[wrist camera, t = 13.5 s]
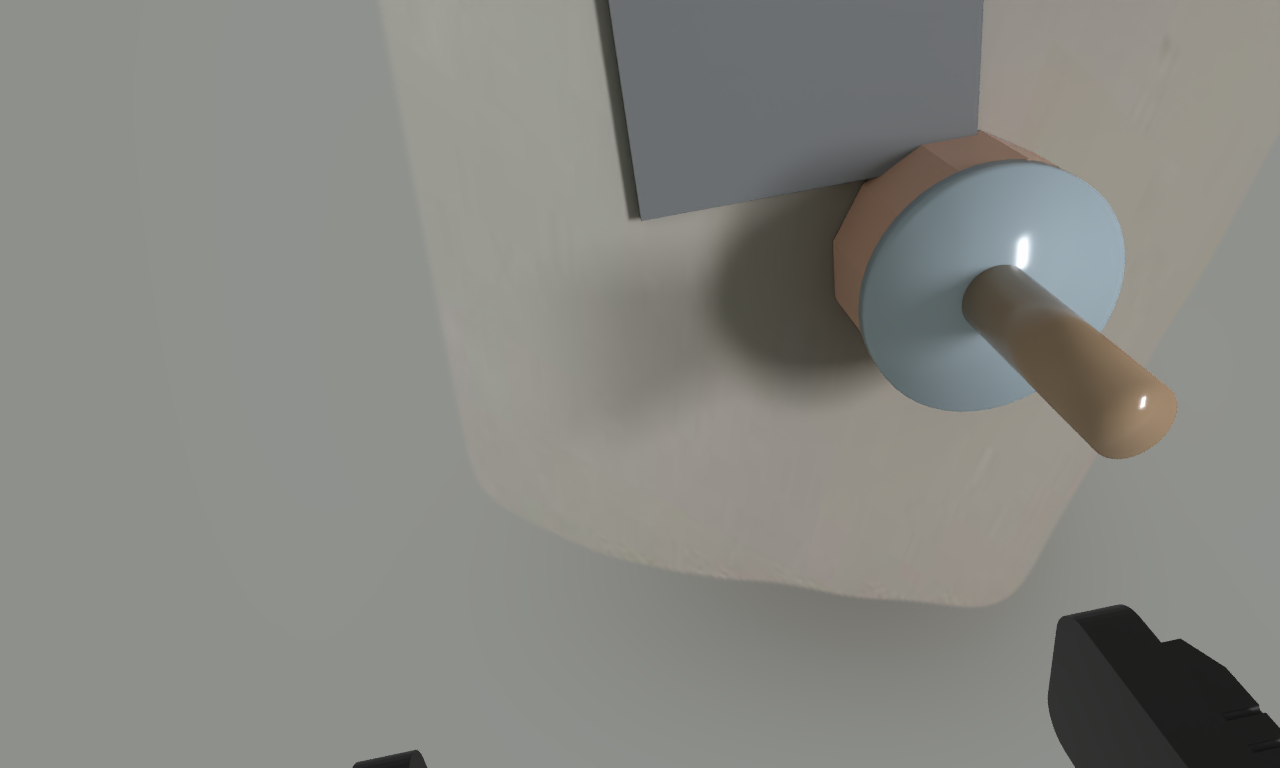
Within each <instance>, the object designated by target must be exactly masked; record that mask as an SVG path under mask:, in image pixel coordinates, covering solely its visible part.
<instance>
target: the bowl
mask: <svg viewBox="0 0 1280 768" xmlns="http://www.w3.org/2000/svg"><path fill="white" fill-rule="evenodd" d="M1006 159H1027V160H1034V161H1040V162H1044V163H1047V164H1051V165H1054V164H1052V163H1051V162H1049V161H1047V160H1045V159H1044V158H1042V157H1040V156H1038V155H1037V154H1035V153H1033V152H1031V151H1028V150H1026V149H1023V148H1021V147H1019V146H1016V145H1014V144H1012V143H1009V142H1007V141H1004V140H1002V139H1000V138H997V137H995V136H992V135H990V134H988V133H985V132H983V131H977V135H973V136H967V137H962V138H957V139H951V140H946V141H940V142H935V143H930V144H924V145H921V146H919V147H918V148H917V149H915V150H914V151H913V152H911V153H910V154H909V155H907V156H906V157H905V158H904V159H902V160H901V161H900V162H898V163H897V164H896V165H894V166H893V167H892V168H890V169H889V170H888V171H886V172H885V173H884V174H883V175H881V176H880V177H875V178H870V179H869V180H867V181H866V182H865V183H863V184H862V186H861V188H860V190H859V192H858V194H857V196H856V198H855V200H854V202H853V204H852V206H851V208H850V210H849V212H848V214H847V216H846V218H845V219H844V221H843V223H842V225H841V227H840V229H839V231H838V233H837V235H836V237H835V239H834V241H833V255H834V283H835V299H836V300H837V301H838V303H839V304H840V305H841V307H842V308H843V309H844V311H845V312H846V313H847V315H848V316H849V317H850V319H851V320H852V321H853V323H854V324H855V325H856V327H857V328H858V329H859V331H860V332H861V330H860V325H859V315H858V307H859V294H860V288H861V283H862V279H863V276H864V273H865V270H866V266H867V264H868V262H869V259H870V257H871V255H872V253H873V251H874V249H875V247H876V245H877V244H878V242H879V240H880V239H881V237H882V235H883V234H884V232H885V231H886V230H887V228H888V227H889V226H890V225H891V223H892V222H893V221H894V219H895V218H896V217H897V216H898V215H899V214H900V213H901V212H902V211H903V210H904V209H905V208H906V207H907V206H908V205H909V204H910V203H911V202H912V201H913V200H915V199H916V198H917V197H918V196H919V195H920V194H922V193H923V192H924V191H926V190H927V189H929V188H930V187H932V186H933V185H935V184H936V183H938V182H939V181H941V180H943V179H945V178H947V177H949V176H951V175H952V174H954V173H957V172H959V171H962V170H964V169H967V168H969V167H972V166H975V165H979V164H983V163H987V162H991V161H998V160H1006ZM1054 166H1056V165H1054ZM1057 167H1058V166H1057Z"/></svg>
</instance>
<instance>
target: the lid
mask: <svg viewBox="0 0 1280 768" xmlns="http://www.w3.org/2000/svg"><path fill="white" fill-rule="evenodd" d="M1124 266H1125V249H1124V240H1123V236H1122V231H1121V227H1120V225H1119V222H1118V220H1117V218H1116V215H1115V213H1114V212H1113V210H1112V208H1111V207H1110V205H1109V204H1108V202H1107V201H1106V200H1105V199H1104V198H1103V197H1102V196H1101V194H1100V193H1099V192H1098V191H1097V190H1095V189H1094V188H1093V187H1091V186H1090V185H1089V184H1087V183H1086V182H1085V181H1083V180H1081V179H1079V178H1078V177H1076V176H1074V175H1072V174H1071V173H1069V172H1067V171H1065V170H1063V169H1061V168H1059V167H1057V166H1054V165H1051V164H1047V163H1044V162H1040V161H1034V160H1027V159H1006V160H998V161H991V162H987V163H983V164H979V165H975V166H972V167H969V168H967V169H964V170H962V171H959V172H957V173H954V174H952V175H951V176H949V177H947V178H945V179H943V180H941V181H939V182H938V183H936V184H935V185H933V186H932V187H930V188H929V189H927V190H926V191H924V192H923V193H922V194H920V195H919V196H918V197H917V198H916V199H915V200H913V201H912V202H911V203H910V204H909V205H908V206H907V207H906V208H905V209H904V210H903V211H902V212H901V213H900V214H899V215H898V216H897V217H896V218H895V219H894V221H893V222H892V223H891V225H890V226H889V227H888V228H887V230H886V231H885V232H884V234H883V235H882V237H881V239H880V240H879V242H878V244H877V245H876V247H875V249H874V251H873V253H872V255H871V257H870V259H869V262H868V264H867V266H866V270H865V273H864V276H863V279H862V283H861V288H860V294H859V307H858V315H859V325H860V330H861V334H862V338H863V342H864V344H865V346H866V348H867V351H868V353H869V355H870V356H871V358H872V359H873V361H874V363H875V364H876V366H877V367H878V368H879V370H880V371H881V372H882V374H883V375H884V376H885V378H886V379H887V380H888V381H889V382H890V383H891V384H892V385H893V386H894V387H895V388H896V389H897V390H898V391H900V392H901V393H902V394H904V395H905V396H906V397H908V398H910V399H912V400H914V401H916V402H917V403H920V404H923V405H926V406H928V407H931V408H936V409H940V410H946V411H957V412H964V411H979V410H985V409H991V408H995V407H999V406H1003V405H1006V404H1009V403H1012V402H1014V401H1017V400H1020V399H1022V398H1024V397H1026V396H1028V395H1030V394H1032V393H1034V392H1037V393H1038V394H1039V395H1040V396H1041V397H1042V398H1043V399H1044V400H1045V401H1046V402H1047V403H1048V404H1049V405H1050V406H1051V407H1052V408H1053V409H1054V410H1055V411H1056V412H1057V413H1058V414H1059V415H1060V416H1061V417H1062V418H1063V419H1064V420H1065V421H1066V422H1067V423H1068V424H1069V425H1070V426H1071V427H1072V428H1073V429H1074V430H1075V431H1076V432H1077V433H1078V434H1079V435H1080V436H1081V437H1082V438H1083V439H1084V440H1085V441H1086V442H1087V443H1088V444H1089V445H1090V446H1091V447H1092V448H1093V449H1094V450H1095V451H1096V452H1097V453H1098V454H1100V455H1102V456H1104V457H1107V458H1111V459H1123V458H1129V457H1133V456H1135V455H1138V454H1141V453H1142V452H1145V451H1146V450H1148V449H1149V448H1151V447H1153V446H1154V445H1155V444H1156V443H1158V441H1160V440H1161V439H1162V438H1163V437H1164V436H1165V434H1166V433H1167V432H1168V431H1169V429H1170V428H1171V426H1172V424H1173V422H1174V419H1175V417H1176V413H1177V401H1176V397H1175V395H1174V393H1173V392H1172V391H1171V390H1170V389H1169V388H1168V387H1167V386H1166V385H1165V384H1163V383H1162V382H1161V381H1160V380H1158V379H1157V378H1156V377H1155V376H1153V375H1152V374H1151V373H1150V372H1148V371H1147V370H1146V369H1145V368H1143V367H1142V366H1141V365H1140V364H1138V363H1137V362H1136V361H1135V360H1134V359H1132V358H1131V357H1130V356H1129V355H1127V354H1126V353H1125V352H1124V351H1122V350H1121V349H1120V348H1119V347H1117V346H1116V345H1115V344H1114V343H1112V342H1111V341H1110V340H1109V339H1107V338H1106V337H1105V336H1104V335H1102V334H1101V331H1102V329H1103V328H1104V326H1105V324H1106V323H1107V321H1108V319H1109V317H1110V315H1111V313H1112V311H1113V309H1114V306H1115V304H1116V301H1117V298H1118V295H1119V292H1120V289H1121V285H1122V280H1123V275H1124Z"/></svg>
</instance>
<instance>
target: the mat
mask: <svg viewBox="0 0 1280 768" xmlns="http://www.w3.org/2000/svg"><path fill="white" fill-rule="evenodd" d="M983 2H984V0H608V6H609V12H610V19H611V26H612V32H613V39H614V46H615V52H616V59H617V66H618V72H619V79H620V86H621V93H622V99H623V106H624V113H625V119H626V126H627V133H628V139H629V146H630V153H631V159H632V166H633V173H634V180H635V186H636V193H637V200H638V206H639V213H640V218H641V221H644V220H649V219H655V218H660V217H665V216H671V215H676V214H681V213H687V212H692V211H698V210H703V209H708V208H714V207H719V206H724V205H730V204H735V203H740V202H746V201H751V200H757V199H762V198H767V197H773V196H778V195H783V194H789V193H794V192H800V191H805V190H810V189H816V188H821V187H826V186H832V185H837V184H843V183H848V182H853V181H859V180H864V179H869V178H875V177H880V176H881V175H883V174H884V173H885V172H886V171H888V170H889V169H890V168H892V167H893V166H894V165H896V164H897V163H898V162H900V161H901V160H902V159H904V158H905V157H906V156H907V155H909V154H910V153H911V152H913V151H914V150H915V149H917V148H918V147H919V146H921V145H924V144H930V143H935V142H940V141H946V140H951V139H957V138H962V137H967V136H973V135H977V126H978V105H979V85H980V64H981V43H982V22H983Z"/></svg>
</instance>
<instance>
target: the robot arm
mask: <svg viewBox="0 0 1280 768" xmlns="http://www.w3.org/2000/svg"><path fill="white" fill-rule="evenodd" d="M1048 706H1049V712H1050V717H1051V720H1052V724H1053V727H1054V729H1055V732H1056V734H1057V737H1058V739H1059V741H1060V743H1061V745H1062V747H1063V748H1064V750H1065V752H1066V753H1067V755H1068V756H1069V758H1070V760H1071V761H1072V763H1073V764H1074V766H1075V768H1280V728H1279V727H1278V726H1277V725H1276V723H1275V722H1274V721H1273V720H1272V719H1271V718H1270V717H1269V716H1268V714H1267V713H1262V712H1261V711H1260V708H1259V704H1258V703H1257V702H1256V701H1255V700H1254V699H1253V698H1252V697H1251V695H1250V694H1249V693H1248V692H1247V691H1246V690H1245V689H1244V688H1243V686H1242V685H1241V684H1240V683H1239V682H1238V681H1237V680H1236V679H1235V677H1234V676H1233V675H1232V674H1231V673H1230V672H1229V671H1228V670H1227V668H1226V667H1224V666H1222V665H1221V664H1219V663H1218V662H1216V661H1215V660H1213V659H1212V658H1210V657H1208V656H1207V655H1205V654H1204V653H1202V652H1200V651H1199V650H1198V649H1196V648H1194V647H1193V646H1191V645H1190V644H1188V643H1186V642H1185V641H1183V640H1182V639H1177V640H1172V641H1167V642H1162V643H1161V642H1160V641H1159V639H1158V638H1157V637H1156V636H1155V635H1154V633H1153V632H1152V631H1151V630H1150V629H1149V628H1148V626H1147V625H1146V624H1145V623H1144V622H1143V620H1142V619H1141V618H1140V617H1139V616H1138V615H1137V614H1136V613H1135V612H1134V611H1133V610H1132V609H1131V608H1129V607H1127V606H1125V605H1115V606H1110V607H1105V608H1100V609H1095V610H1091V611H1086V612H1081V613H1076V614H1072V615H1067V616H1063V617H1062V618H1061V619H1060V620H1059V621H1058V624H1057V630H1056V637H1055V645H1054V652H1053V660H1052V668H1051V676H1050V683H1049V691H1048ZM353 768H427V766H426V764H425V761H424V759H423V757H422V755H421V753H420V752H419V751H418V750H414V751H408V752H404V753H399V754H394V755H389V756H385V757H380V758H375V759H370V760H366V761H361V762H357V763H356V764H355V765H354V766H353Z"/></svg>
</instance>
